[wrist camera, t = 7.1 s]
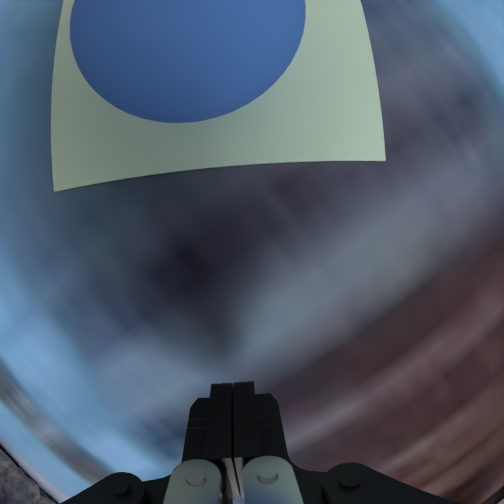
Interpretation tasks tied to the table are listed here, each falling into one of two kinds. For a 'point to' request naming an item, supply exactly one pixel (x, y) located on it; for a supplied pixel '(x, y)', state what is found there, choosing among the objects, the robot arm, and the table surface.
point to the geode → (18, 485)
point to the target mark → (232, 124)
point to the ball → (184, 53)
